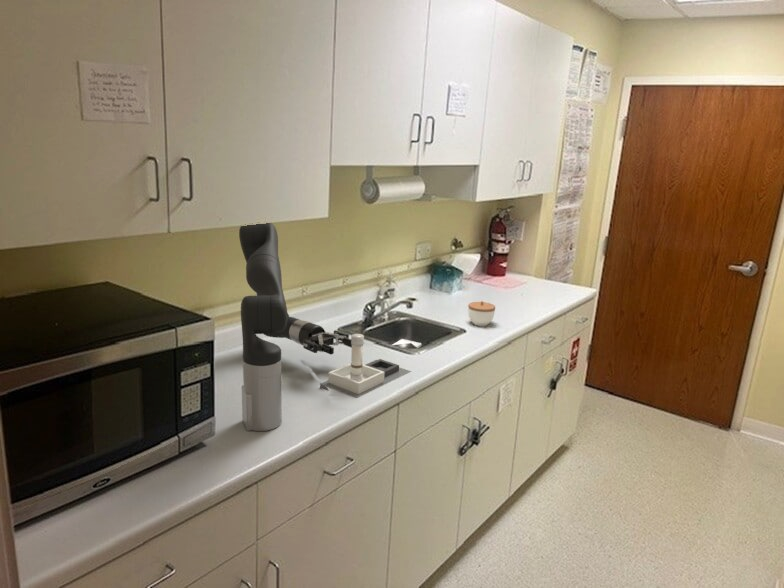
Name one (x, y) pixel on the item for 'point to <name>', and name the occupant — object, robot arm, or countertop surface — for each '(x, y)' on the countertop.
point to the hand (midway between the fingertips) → (343, 347)
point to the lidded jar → (481, 313)
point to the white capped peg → (356, 357)
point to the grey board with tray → (372, 377)
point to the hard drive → (408, 342)
